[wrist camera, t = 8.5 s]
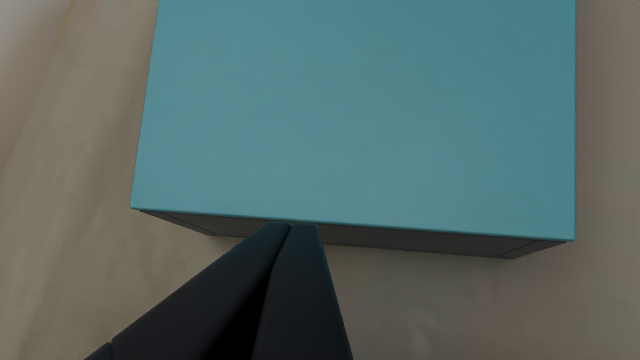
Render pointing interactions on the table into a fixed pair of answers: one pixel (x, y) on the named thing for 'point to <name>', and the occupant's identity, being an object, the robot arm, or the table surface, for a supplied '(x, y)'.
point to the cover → (364, 114)
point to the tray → (371, 236)
